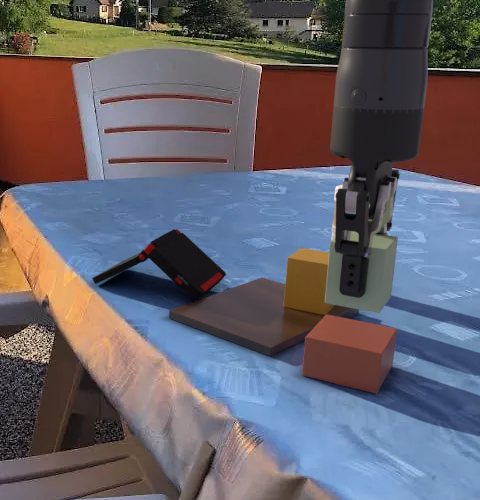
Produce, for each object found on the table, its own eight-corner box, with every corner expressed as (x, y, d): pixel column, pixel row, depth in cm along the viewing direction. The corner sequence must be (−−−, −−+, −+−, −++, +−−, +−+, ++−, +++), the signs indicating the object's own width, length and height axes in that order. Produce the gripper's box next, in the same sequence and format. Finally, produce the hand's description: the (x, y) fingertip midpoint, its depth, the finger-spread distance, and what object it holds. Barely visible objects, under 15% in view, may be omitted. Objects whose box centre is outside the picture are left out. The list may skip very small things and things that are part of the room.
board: (261, 284, 93) (262, 277, 93) (358, 313, 84) (359, 305, 84) (168, 318, 81) (168, 310, 81) (270, 356, 72) (270, 347, 71)
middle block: (338, 287, 70) (344, 229, 68) (391, 297, 68) (398, 236, 66) (324, 303, 66) (329, 241, 64) (379, 313, 64) (386, 249, 62)
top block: (296, 294, 87) (301, 247, 85) (337, 302, 84) (342, 254, 83) (283, 306, 83) (287, 257, 81) (325, 315, 80) (331, 265, 78)
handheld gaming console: (228, 273, 92) (184, 322, 97) (161, 211, 95) (121, 262, 99) (201, 294, 84) (155, 347, 89) (129, 226, 86) (87, 281, 91)
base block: (322, 349, 73) (326, 313, 72) (392, 365, 70) (397, 328, 69) (301, 375, 68) (305, 336, 67) (376, 394, 64) (381, 353, 63)
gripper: (408, 111, 54) (384, 319, 59) (437, 99, 66) (415, 272, 71) (311, 106, 58) (296, 302, 62) (355, 95, 69) (340, 261, 74)
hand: (359, 285), depth 66 cm, fingers closed on middle block, 5 cm apart
